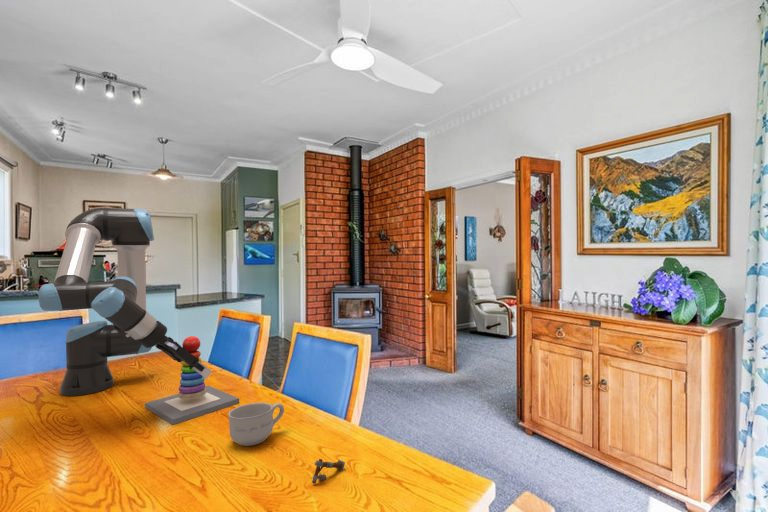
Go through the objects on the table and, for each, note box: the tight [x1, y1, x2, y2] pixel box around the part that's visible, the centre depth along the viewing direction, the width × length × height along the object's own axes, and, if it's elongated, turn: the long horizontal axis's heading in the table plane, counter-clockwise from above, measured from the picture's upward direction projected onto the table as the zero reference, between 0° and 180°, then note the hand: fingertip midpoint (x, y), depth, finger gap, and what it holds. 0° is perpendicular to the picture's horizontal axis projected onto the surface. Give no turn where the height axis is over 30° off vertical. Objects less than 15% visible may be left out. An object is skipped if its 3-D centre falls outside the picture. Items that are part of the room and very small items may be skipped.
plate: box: [144, 385, 240, 426], centre depth 121 cm, size 20×20×2 cm
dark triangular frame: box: [311, 458, 346, 485], centre depth 81 cm, size 2×8×4 cm, turn 140°
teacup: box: [227, 402, 285, 447], centre depth 98 cm, size 14×11×8 cm
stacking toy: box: [177, 335, 206, 400], centre depth 121 cm, size 8×8×19 cm
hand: (203, 372), depth 124 cm, fingers closed on stacking toy, 6 cm apart
